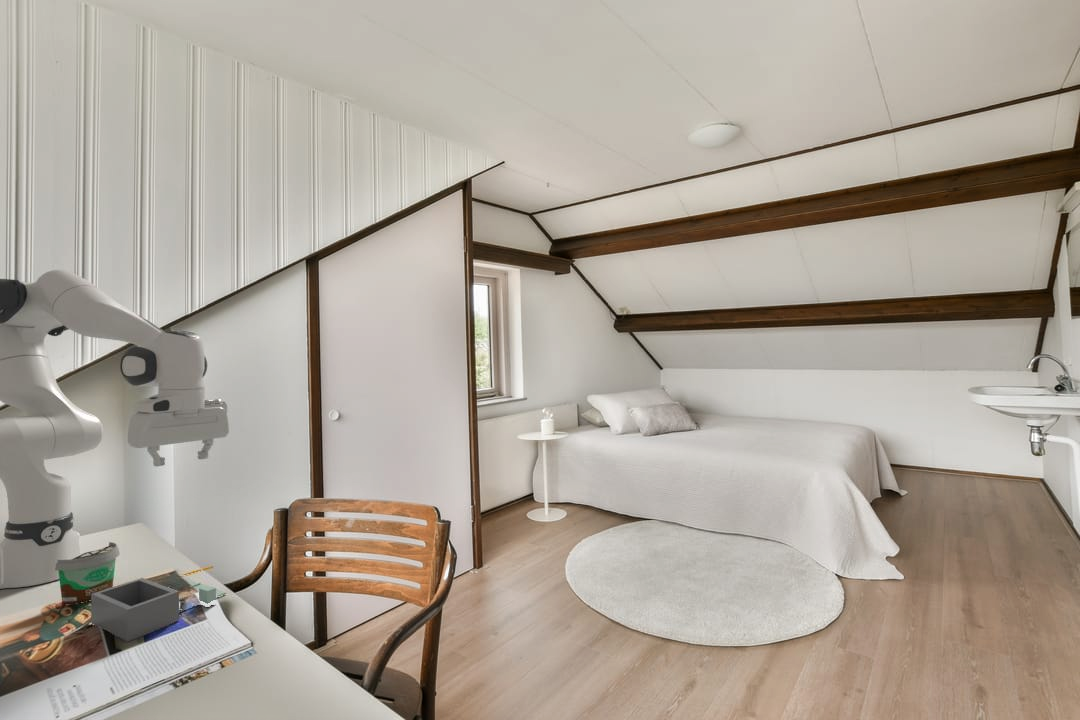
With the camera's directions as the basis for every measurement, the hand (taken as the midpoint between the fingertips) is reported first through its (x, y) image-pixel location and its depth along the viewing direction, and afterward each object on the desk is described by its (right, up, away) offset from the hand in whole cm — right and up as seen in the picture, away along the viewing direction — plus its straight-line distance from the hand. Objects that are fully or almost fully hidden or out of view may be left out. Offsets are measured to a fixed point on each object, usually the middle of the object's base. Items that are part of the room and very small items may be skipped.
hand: (181, 462), depth 123 cm
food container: (-17, -29, -3) cm, 34 cm away
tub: (+1, -29, -15) cm, 33 cm away
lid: (+4, -29, -4) cm, 30 cm away
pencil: (-6, -30, +6) cm, 31 cm away
